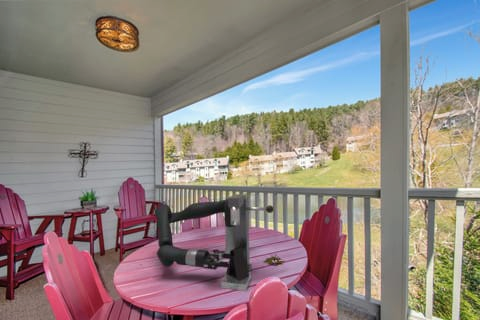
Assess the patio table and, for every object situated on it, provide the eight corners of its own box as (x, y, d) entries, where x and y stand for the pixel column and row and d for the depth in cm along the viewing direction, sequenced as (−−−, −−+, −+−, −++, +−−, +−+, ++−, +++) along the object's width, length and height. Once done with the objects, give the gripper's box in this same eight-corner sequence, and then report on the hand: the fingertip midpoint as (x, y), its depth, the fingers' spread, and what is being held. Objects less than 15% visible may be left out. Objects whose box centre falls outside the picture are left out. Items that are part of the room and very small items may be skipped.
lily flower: (289, 261, 120) (289, 253, 120) (277, 269, 111) (277, 260, 111) (271, 256, 128) (271, 248, 128) (258, 263, 119) (258, 254, 119)
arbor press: (233, 267, 114) (232, 193, 115) (276, 271, 108) (273, 194, 110) (221, 287, 94) (219, 199, 96) (271, 293, 89) (268, 199, 91)
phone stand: (226, 274, 101) (225, 248, 102) (235, 269, 105) (234, 244, 106) (239, 281, 95) (238, 252, 95) (249, 276, 99) (248, 249, 100)
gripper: (203, 259, 110) (234, 262, 106) (191, 273, 96) (226, 276, 92) (203, 244, 110) (234, 246, 106) (190, 256, 96) (225, 258, 93)
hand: (230, 260), depth 99 cm, fingers open, 8 cm apart
